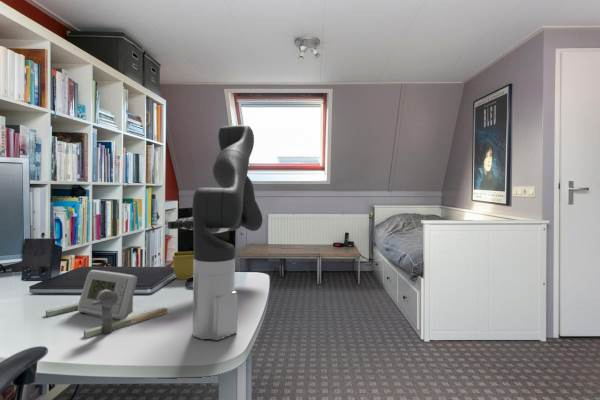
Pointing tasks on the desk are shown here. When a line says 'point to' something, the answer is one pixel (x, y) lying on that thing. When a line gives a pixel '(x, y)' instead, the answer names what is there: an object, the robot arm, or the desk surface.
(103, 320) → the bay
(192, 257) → the flower pot
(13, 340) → the desk surface
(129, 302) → the digital clock
